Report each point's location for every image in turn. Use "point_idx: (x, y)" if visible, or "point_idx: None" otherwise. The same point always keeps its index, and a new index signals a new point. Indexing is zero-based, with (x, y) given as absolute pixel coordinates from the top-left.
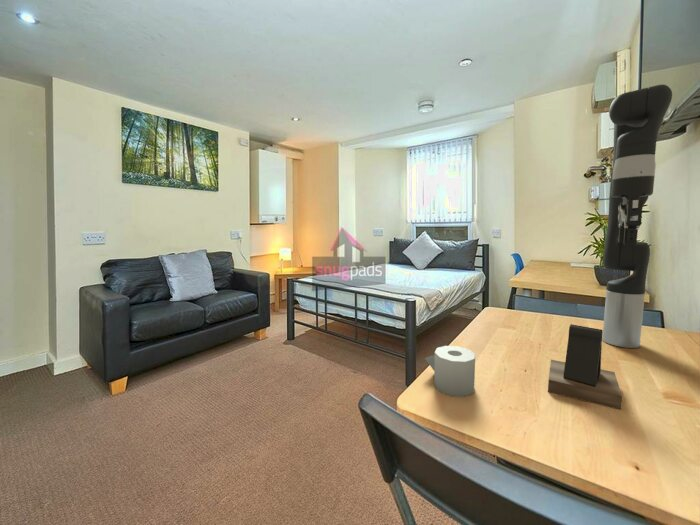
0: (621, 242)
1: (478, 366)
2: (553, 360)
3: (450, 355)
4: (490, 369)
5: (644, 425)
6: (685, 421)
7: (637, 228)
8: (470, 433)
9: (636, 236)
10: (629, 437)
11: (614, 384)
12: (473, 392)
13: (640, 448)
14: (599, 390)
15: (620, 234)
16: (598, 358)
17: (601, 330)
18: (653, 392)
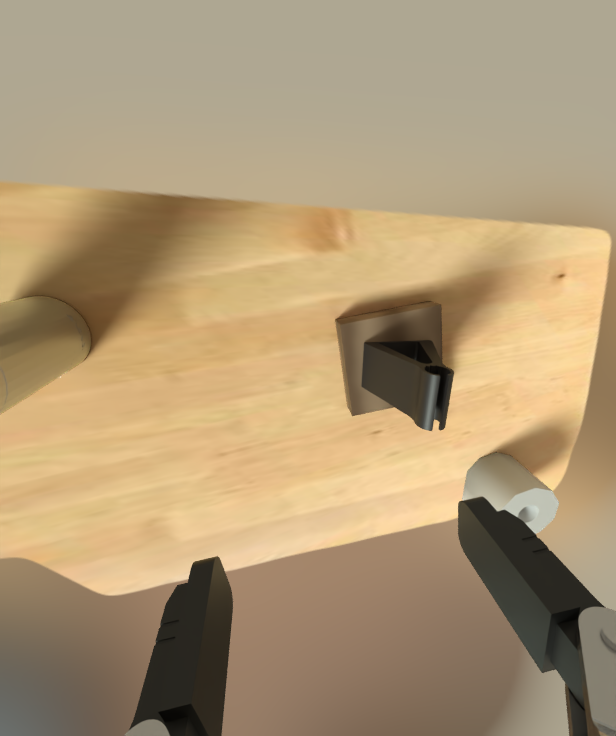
0: (228, 589)
1: (407, 483)
2: (354, 411)
3: (540, 513)
4: (407, 467)
5: (458, 272)
6: (411, 224)
7: (590, 613)
8: (581, 418)
9: (524, 542)
10: (501, 286)
11: (399, 318)
12: (494, 453)
13: (520, 274)
14: (438, 333)
15: (226, 672)
16: (438, 355)
17: (439, 376)
18: (327, 263)
